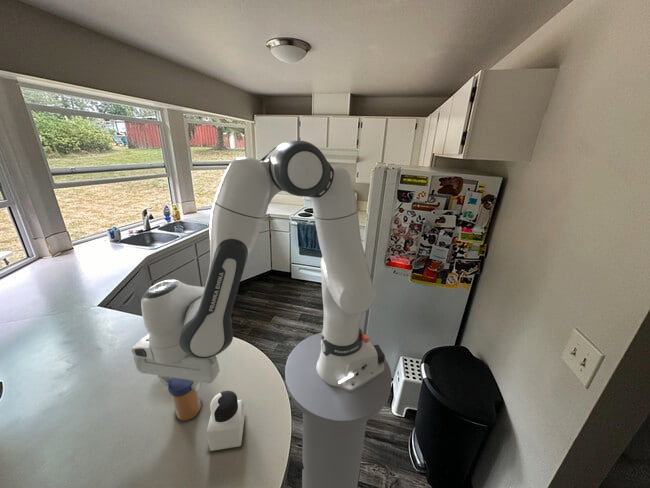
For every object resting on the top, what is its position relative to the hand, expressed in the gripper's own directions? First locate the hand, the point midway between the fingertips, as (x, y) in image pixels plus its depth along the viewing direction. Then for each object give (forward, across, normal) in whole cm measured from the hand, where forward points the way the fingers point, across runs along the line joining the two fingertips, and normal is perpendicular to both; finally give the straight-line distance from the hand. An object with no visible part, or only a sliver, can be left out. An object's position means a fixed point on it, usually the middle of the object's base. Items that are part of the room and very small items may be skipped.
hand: (182, 386), depth 65 cm
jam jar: (+9, 0, 0) cm, 9 cm away
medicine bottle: (+9, -14, +4) cm, 17 cm away
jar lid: (-2, 0, 0) cm, 2 cm away
